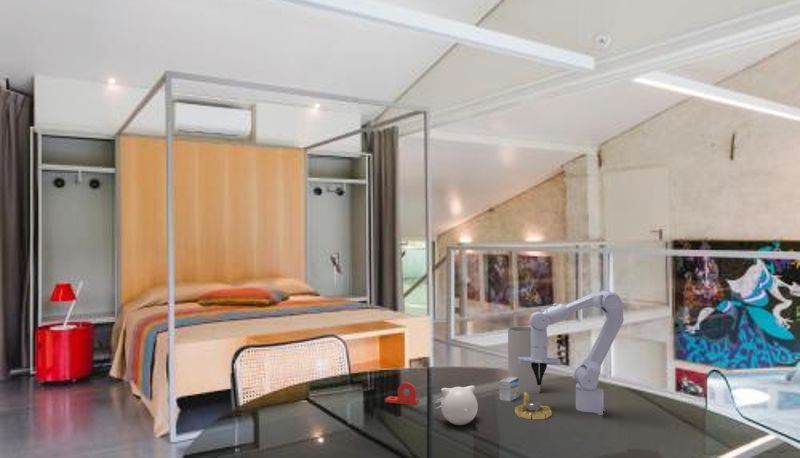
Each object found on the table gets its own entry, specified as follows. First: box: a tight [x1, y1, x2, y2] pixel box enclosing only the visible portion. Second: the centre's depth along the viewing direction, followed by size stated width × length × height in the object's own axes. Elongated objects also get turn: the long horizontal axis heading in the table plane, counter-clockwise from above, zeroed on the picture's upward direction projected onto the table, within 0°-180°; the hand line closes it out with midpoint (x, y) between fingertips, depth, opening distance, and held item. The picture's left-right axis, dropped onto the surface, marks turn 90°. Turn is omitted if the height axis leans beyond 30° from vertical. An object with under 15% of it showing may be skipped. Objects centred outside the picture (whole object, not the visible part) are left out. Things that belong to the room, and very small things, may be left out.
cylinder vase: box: [507, 326, 541, 395], centre depth 225 cm, size 12×12×25 cm
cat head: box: [435, 385, 479, 426], centre depth 187 cm, size 15×13×12 cm
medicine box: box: [498, 376, 520, 402], centre depth 211 cm, size 8×4×9 cm, turn 143°
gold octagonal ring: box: [514, 392, 553, 421], centre depth 194 cm, size 14×12×5 cm
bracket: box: [384, 382, 420, 406], centre depth 212 cm, size 12×4×8 cm, turn 70°
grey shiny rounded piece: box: [525, 400, 541, 413], centre depth 193 cm, size 18×18×5 cm
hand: (539, 384), depth 199 cm, fingers closed
